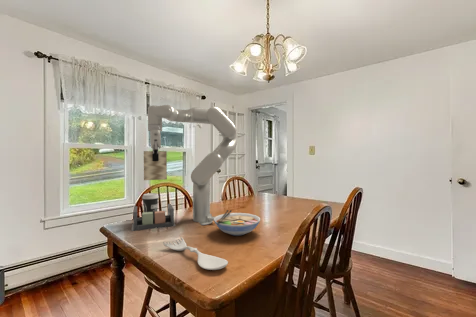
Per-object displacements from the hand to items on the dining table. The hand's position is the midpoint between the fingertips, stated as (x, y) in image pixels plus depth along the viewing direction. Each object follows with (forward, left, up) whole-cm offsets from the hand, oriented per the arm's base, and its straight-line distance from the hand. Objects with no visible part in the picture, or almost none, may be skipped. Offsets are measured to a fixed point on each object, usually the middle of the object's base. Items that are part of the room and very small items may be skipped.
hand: (155, 160), depth 130 cm
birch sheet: (0, 0, -11) cm, 11 cm away
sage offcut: (-3, +11, -34) cm, 35 cm away
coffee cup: (+8, -6, -35) cm, 37 cm away
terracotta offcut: (-8, +7, -34) cm, 35 cm away
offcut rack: (-4, +7, -35) cm, 36 cm away
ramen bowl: (-49, +3, -35) cm, 60 cm away
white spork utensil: (-42, +33, -36) cm, 64 cm away
